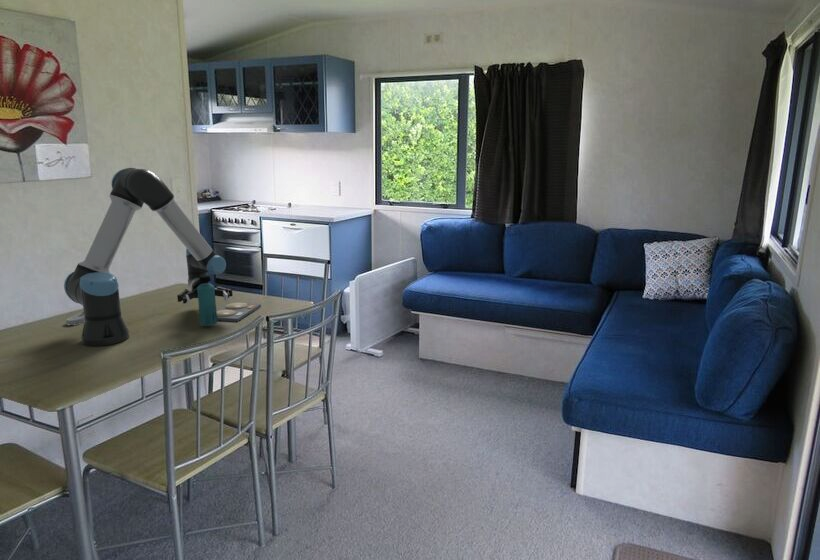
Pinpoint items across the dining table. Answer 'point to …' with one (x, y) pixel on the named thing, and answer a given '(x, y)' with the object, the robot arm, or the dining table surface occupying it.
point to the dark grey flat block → (235, 311)
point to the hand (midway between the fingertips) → (208, 300)
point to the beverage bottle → (206, 302)
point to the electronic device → (76, 319)
